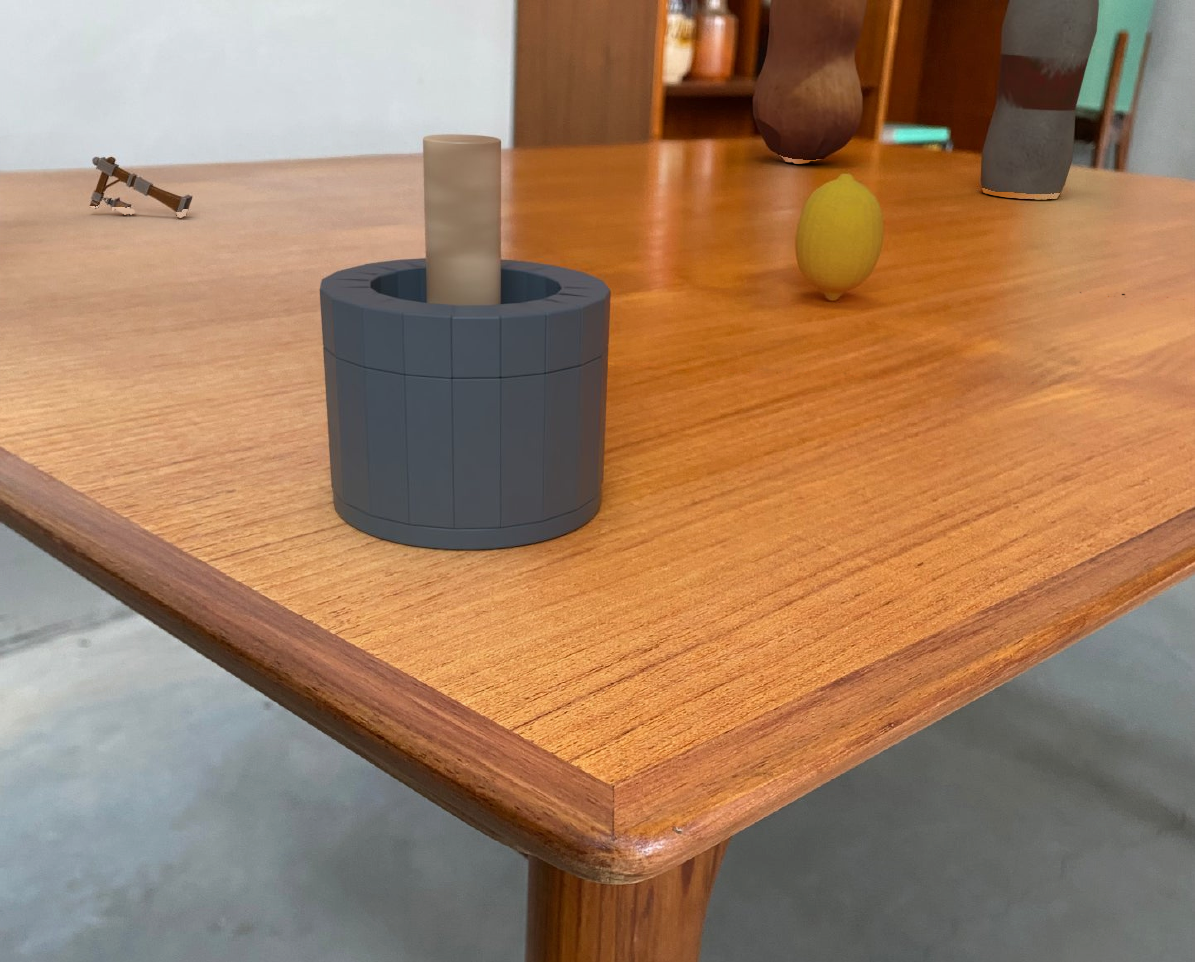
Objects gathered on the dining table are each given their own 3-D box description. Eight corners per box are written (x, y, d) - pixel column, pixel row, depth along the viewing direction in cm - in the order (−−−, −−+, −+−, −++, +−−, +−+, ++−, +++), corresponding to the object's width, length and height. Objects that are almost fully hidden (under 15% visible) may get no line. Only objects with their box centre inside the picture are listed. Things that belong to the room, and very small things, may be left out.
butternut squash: (877, 167, 155) (905, -58, 144) (795, 171, 149) (818, -65, 138) (804, 155, 166) (826, -56, 155) (724, 158, 159) (741, -63, 148)
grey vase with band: (973, 196, 133) (1025, -127, 120) (977, 187, 141) (1026, -118, 128) (1065, 204, 130) (1128, -126, 117) (1064, 193, 138) (1123, -117, 125)
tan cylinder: (405, 489, 45) (393, 140, 40) (432, 458, 48) (425, 130, 43) (501, 498, 45) (502, 146, 40) (522, 466, 48) (526, 136, 43)
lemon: (867, 293, 84) (882, 170, 81) (880, 311, 79) (898, 180, 76) (785, 290, 84) (797, 166, 81) (793, 308, 79) (807, 176, 76)
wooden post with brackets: (84, 200, 103) (99, 148, 101) (177, 244, 104) (193, 193, 103) (75, 203, 101) (91, 150, 100) (170, 247, 103) (187, 196, 101)
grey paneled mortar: (291, 535, 43) (274, 303, 40) (382, 446, 52) (374, 250, 49) (576, 562, 42) (583, 325, 38) (618, 466, 51) (627, 267, 47)
